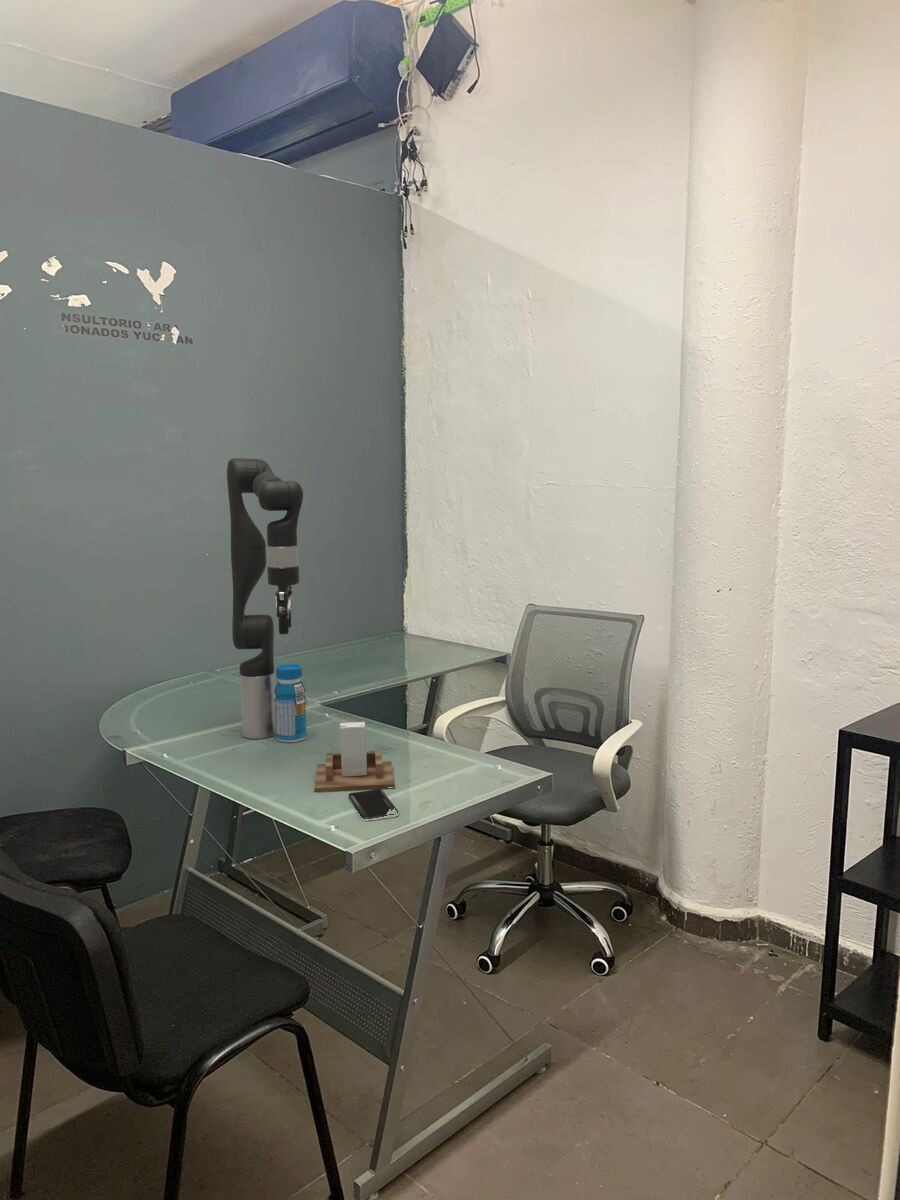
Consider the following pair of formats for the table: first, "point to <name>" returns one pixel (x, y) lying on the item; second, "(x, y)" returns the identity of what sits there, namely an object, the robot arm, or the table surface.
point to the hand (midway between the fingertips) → (285, 630)
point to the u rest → (334, 781)
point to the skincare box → (353, 749)
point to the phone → (371, 803)
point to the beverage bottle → (290, 704)
